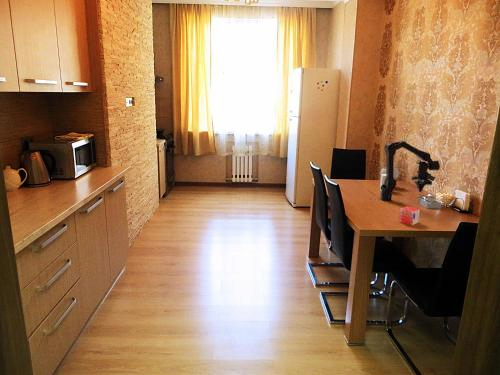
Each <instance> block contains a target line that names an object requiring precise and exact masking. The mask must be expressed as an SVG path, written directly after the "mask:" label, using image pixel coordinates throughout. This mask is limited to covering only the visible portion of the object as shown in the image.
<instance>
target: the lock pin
mask: <svg viewBox="0 0 500 375" xmlns="http://www.w3.org/2000/svg"><path fill="white" fill-rule="evenodd" d="M419 196H422V197H424V196H425V194H420V193H419V194H418V197H417V199H418V198H419ZM424 199H426V200H427V201H428V198H426V197H424Z"/></svg>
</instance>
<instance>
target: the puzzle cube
mask: <svg viewBox="0 0 500 375" xmlns="http://www.w3.org/2000/svg"><path fill="white" fill-rule="evenodd" d="M420 211H421V208H415V207H412V206H404V207H401V208H399V216H398V223H402V224H406V225H409V226H413V225H416V224H418V223H419V219H420Z"/></svg>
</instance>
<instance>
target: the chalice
mask: <svg viewBox="0 0 500 375" xmlns="http://www.w3.org/2000/svg"><path fill="white" fill-rule="evenodd" d="M386 171H387V166H386V167H383V168H382V169H381V170H380V175H381V174H386ZM399 176H400V171H399V169H398V168H395V167H394V173H393V177H394V179H397V178H398V177H399Z"/></svg>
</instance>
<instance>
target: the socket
mask: <svg viewBox="0 0 500 375" xmlns="http://www.w3.org/2000/svg"><path fill="white" fill-rule="evenodd" d="M419 204H420V206H422V207H424V208H426V209H441V207H442V202H439V201H438V200H436V199H434V203H430V202H427V200H426V199H420V202H419Z"/></svg>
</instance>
